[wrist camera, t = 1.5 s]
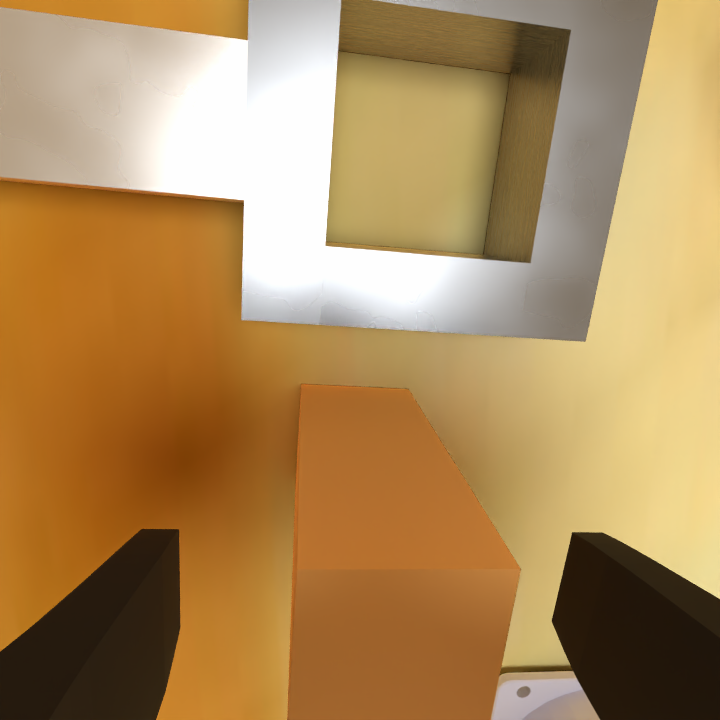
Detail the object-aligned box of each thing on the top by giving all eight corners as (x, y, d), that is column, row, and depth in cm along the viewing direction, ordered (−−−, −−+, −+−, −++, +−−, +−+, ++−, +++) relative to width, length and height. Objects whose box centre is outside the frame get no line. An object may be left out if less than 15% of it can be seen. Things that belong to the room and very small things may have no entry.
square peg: (408, 388, 15) (521, 569, 7) (397, 484, 16) (487, 738, 8) (301, 383, 14) (297, 570, 7) (295, 481, 15) (286, 747, 7)
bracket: (585, 7, 12) (670, -58, 10) (529, 317, 14) (585, 341, 12) (-67, -95, 10) (-207, -214, 8) (-23, 280, 13) (-120, 297, 10)
